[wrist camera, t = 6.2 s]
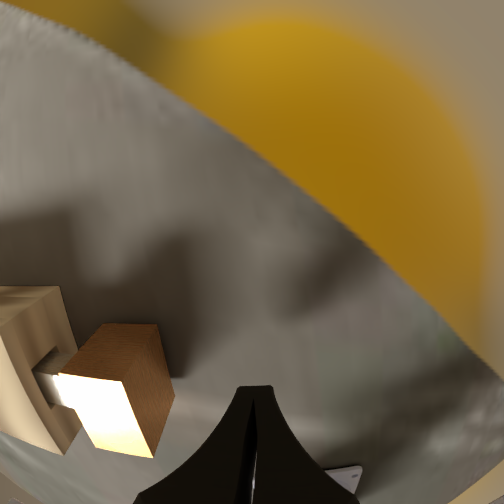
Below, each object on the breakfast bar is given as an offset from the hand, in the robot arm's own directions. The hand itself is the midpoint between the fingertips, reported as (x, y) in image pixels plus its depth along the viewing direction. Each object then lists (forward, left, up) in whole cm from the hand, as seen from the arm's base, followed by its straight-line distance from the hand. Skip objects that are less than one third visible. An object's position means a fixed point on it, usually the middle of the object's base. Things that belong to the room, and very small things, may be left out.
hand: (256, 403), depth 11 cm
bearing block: (0, +15, -4) cm, 15 cm away
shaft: (0, +13, -3) cm, 13 cm away
